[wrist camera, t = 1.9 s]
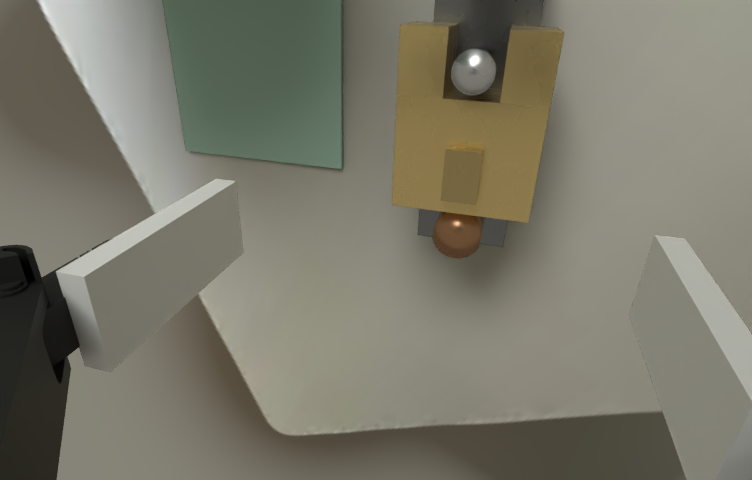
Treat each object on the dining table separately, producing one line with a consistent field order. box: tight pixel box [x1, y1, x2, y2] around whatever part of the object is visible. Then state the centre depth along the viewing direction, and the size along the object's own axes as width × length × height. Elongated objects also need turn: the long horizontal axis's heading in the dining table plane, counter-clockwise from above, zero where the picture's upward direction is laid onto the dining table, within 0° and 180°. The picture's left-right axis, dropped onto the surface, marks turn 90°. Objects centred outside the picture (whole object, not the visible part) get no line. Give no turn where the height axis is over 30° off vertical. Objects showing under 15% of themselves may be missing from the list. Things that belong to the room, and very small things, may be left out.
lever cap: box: [392, 21, 564, 223], centre depth 28 cm, size 10×8×5 cm
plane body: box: [418, 0, 544, 258], centre depth 29 cm, size 18×6×9 cm, turn 178°
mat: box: [163, 0, 343, 169], centre depth 37 cm, size 14×14×1 cm
